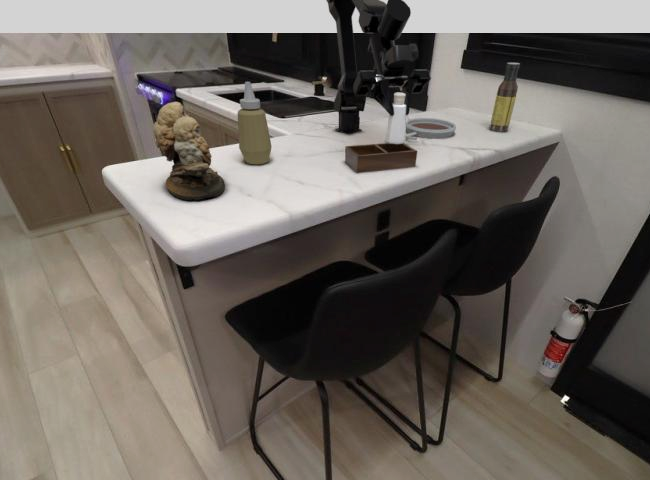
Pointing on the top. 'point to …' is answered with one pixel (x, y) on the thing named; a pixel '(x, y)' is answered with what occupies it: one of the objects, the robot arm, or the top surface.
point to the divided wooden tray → (380, 157)
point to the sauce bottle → (505, 99)
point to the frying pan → (429, 128)
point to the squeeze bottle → (253, 129)
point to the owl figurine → (186, 155)
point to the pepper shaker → (397, 121)
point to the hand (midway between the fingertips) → (400, 114)
